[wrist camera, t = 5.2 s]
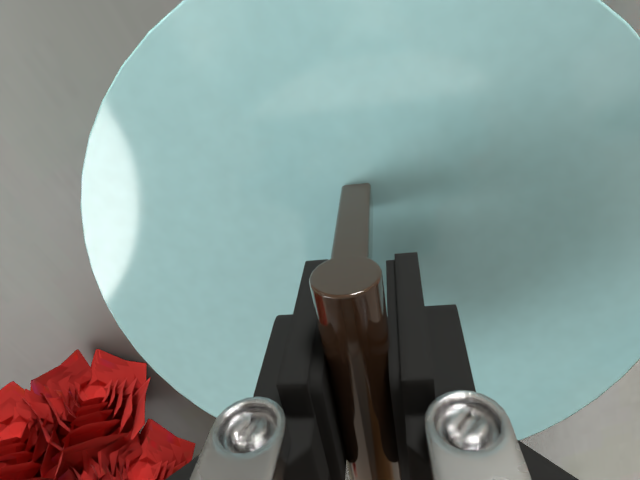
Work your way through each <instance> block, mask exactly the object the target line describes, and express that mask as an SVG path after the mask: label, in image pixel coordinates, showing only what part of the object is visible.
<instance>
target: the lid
mask: <svg viewBox="0 0 640 480" xmlns="http://www.w3.org/2000/svg"><path fill="white" fill-rule="evenodd" d="M81 215H82V224H83V233H84V241H85V245H86V249H87V253H88V257H89V261H90V265H91V268H92V272H93V274H94V277H95V279H96V282H97V284H98V287H99V289H100V292H101V294H102V297H103V299H104V301H105V303H106V305H107V306H108V308H109V310H110V312H111V314H112V315H113V317H114V319H115V321H116V323H117V324H118V326H119V328H120V329H121V330H122V332H123V333H124V334H125V336H126V337H127V339H128V340H129V341H130V343H131V344H132V346H133V347H134V348H135V350H136V351H137V352H138V353H139V354H140V355H141V356H142V358H143V359H144V360H145V361H146V362H147V363H148V364H149V365H150V366H151V367H152V369H153V370H154V371H155V372H156V373H157V374H158V375H160V376H161V377H162V378H163V379H164V380H165V381H166V382H167V383H168V384H170V385H171V386H172V387H173V388H174V389H175V390H176V391H177V392H179V393H180V394H181V395H183V396H184V397H186V398H187V399H188V400H190V401H191V402H192V403H194V404H195V405H196V406H198V407H199V408H201V409H202V410H204V411H206V412H207V413H209V414H211V415H212V416H214V417H216V418H217V417H218V416H219V415H220V414H221V413H222V412H223V411H224V410H225V409H226V408H227V407H228V406H230V405H232V404H233V403H235V402H236V401H239V400H242V399H245V398H249V397H253V395H254V391H255V388H256V384H257V381H258V377H259V374H260V370H261V367H262V363H263V359H264V356H265V352H266V349H267V345H268V342H269V338H270V335H271V331H272V328H273V324H274V321H275V318H276V317H277V316H278V315H288V314H293V312H294V307H295V303H296V299H297V295H298V290H299V286H300V282H301V278H302V274H303V269H304V265H305V262H306V261H311V260H324V259H328V260H327V261H325V262H323V263H321V264H320V265H318V266H317V267H316V268H315V269H314V270H313V272H312V273H311V275H310V279H309V285H310V290H311V295H312V300H313V304H314V309H315V314H316V319H317V323H318V328H319V333H320V338H321V342H322V347H323V352H324V355H325V360H326V365H327V370H328V375H329V379H330V384H331V389H332V394H333V398H334V403H335V408H336V413H337V418H338V422H339V427H340V432H341V437H342V441H343V446H344V451H345V456H346V462H347V466H348V471H349V476H350V480H401V473H400V465H399V457H398V449H397V441H396V433H395V425H394V417H393V409H392V401H391V392H390V382H389V360H388V350H389V348H390V336H389V328H388V319H387V281H386V260H395V254H398V253H411V252H417V254H418V261H419V269H420V276H421V284H422V291H423V299H424V306H435V305H451V304H456V306H457V309H458V314H459V318H460V322H461V327H462V331H463V336H464V340H465V345H466V349H467V354H468V358H469V363H470V367H471V372H472V376H473V380H474V385H475V389H476V392H477V393H481V394H484V395H486V396H488V397H489V398H491V399H493V400H495V401H496V402H497V403H498V404H499V405H500V406H501V407H502V408H503V409H504V410H505V412H506V414H507V415H508V417H509V419H510V421H511V424H512V427H513V430H514V432H515V435H516V438H517V440H519V441H520V440H522V439H525V438H527V437H529V436H532V435H534V434H537V433H539V432H541V431H544V430H545V429H547V428H549V427H551V426H553V425H555V424H557V423H559V422H560V421H562V420H564V419H566V418H568V417H570V416H571V415H573V414H574V413H576V412H577V411H579V410H580V409H582V408H583V407H585V406H586V405H588V404H589V403H591V402H592V401H594V400H595V399H597V398H598V397H599V396H601V395H602V394H603V393H604V392H605V391H606V390H608V389H609V388H610V387H611V386H612V385H614V384H615V383H616V382H617V381H618V380H620V379H621V378H622V377H623V376H624V375H625V374H626V373H627V372H628V371H629V370H630V369H631V368H632V367H633V365H634V364H635V363H636V362H637V361H638V360H639V359H640V36H639V35H638V34H637V33H636V31H635V30H634V29H633V28H632V27H631V26H630V24H629V23H628V22H627V21H626V20H624V19H623V18H622V17H621V16H620V15H618V14H617V13H616V12H615V11H614V10H612V9H611V8H610V7H609V6H607V5H606V4H605V3H604V2H603V1H601V0H183V1H182V2H181V3H179V4H178V5H177V6H176V7H175V8H174V9H173V10H172V11H171V12H170V13H168V14H167V15H166V16H165V17H164V18H163V19H162V20H161V21H160V22H159V23H157V24H156V25H155V26H154V27H153V28H152V29H151V30H150V31H149V32H148V33H147V34H146V36H145V37H144V38H143V39H142V41H141V42H140V43H139V44H138V46H137V47H136V48H135V49H134V51H133V52H132V53H131V54H130V56H129V57H128V58H127V60H126V61H125V62H124V63H123V65H122V66H121V68H120V70H119V71H118V73H117V75H116V77H115V79H114V80H113V82H112V84H111V86H110V88H109V89H108V91H107V93H106V95H105V96H104V98H103V100H102V103H101V105H100V108H99V111H98V113H97V116H96V119H95V122H94V124H93V127H92V130H91V133H90V135H89V139H88V145H87V150H86V155H85V160H84V165H83V170H82V185H81Z"/></svg>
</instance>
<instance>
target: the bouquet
mask: <svg viewBox="0 0 640 480" xmlns="http://www.w3.org/2000/svg"><path fill="white" fill-rule="evenodd" d="M150 378H151V377H150ZM150 378H149V379H148V380H147V381H146V363H140V362H133V361H126V360H123V359H121V358H119V357H116V356H114V355H111V354H109V353H107V352H104V351H102V350H99V349H96V351H95V354H94V357H93V361H92V364H91V367H90V366H89V365H88V363H87V362H86V360H85V359H84V357H83V356H82V354H81V353H80V351H79V350H76V351H75V352H74V353H73V354H72V355H71V356H69V357H68V358H67V359H66V360H65V361H64V362H63V363H62V364H61V365H60V366H58V367H56V368H54V369H52V370H50V371H49V372H47V373H45V374H43V375H41V376H39V377H38V378H36V379H34V380H31V390H30V391H29V390H27V389H25V390H24V389H23V388H21V387H20V386H19V385H17V384H16V383H15V382H14V381H13V382H10V383H9V384H7V385H6V386H5V387H3V388H2V389H1V390H0V480H165V479H166V478H168V477H169V476H171V475H172V474H173V473H175V472H176V471H178V470H179V469H180V468H182V467H183V466H185V465H186V464H187V463H189V462H190V461H191V460H192V456H193V452H194V448H195V443H192V442H189V441H186V440H184V439H181V438H178V437H176V436H175V435H173V434H172V433H170V432H169V431H168V430H166V429H165V428H163V427H162V426H161V425H159V424H158V423H156V422H155V421H153V420H152V419H148V420H147V422H146V424H145V401H146V390H147V387H148V384H149V381H150ZM144 424H145V426H144V428H143V429H142V431H141V433H140V434H139V431H140V429H141V428H142V427H143V425H144Z"/></svg>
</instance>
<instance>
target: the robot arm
mask: <svg viewBox="0 0 640 480" xmlns="http://www.w3.org/2000/svg"><path fill="white" fill-rule="evenodd" d="M327 260H328V259H324V260H311V261H306V262H305V265H304V269H303V274H302V278H301V282H300V286H299V290H298V295H297V299H296V303H295V307H294V312H293V314H288V315H278V316H277V317H276V318H275V321H274V324H273V328H272V331H271V335H270V338H269V342H268V345H267V349H266V352H265V356H264V359H263V363H262V367H261V370H260V374H259V377H258V381H257V384H256V388H255V391H254V395H253V397H249V398H245V399H242V400H239V401H236V402H235V403H233V404H232V405H230V406H228V407H227V408H226V409H225V410H224V411H223V412H222V413H221V414H220V415H219V416H218V417H217V419H216V420H215V422H214V424H213V425H212V428H211V430H210V432H209V435H208V437H207V439H206V442H205V444H204V446H203V449H202V451H201V454H200V455H199V456H197V457H196V458H194V459H193V460H192V461H190V462H189V463H187V464H186V465H185V466H183V467H182V468H180V469H179V470H178V471H176V472H175V473H173V474H172V475H171V476H169V477H168V478H166V479H165V480H345V472H346V456H345V451H344V446H343V441H342V437H341V432H340V427H339V422H338V418H337V413H336V408H335V403H334V398H333V394H332V389H331V384H330V379H329V375H328V370H327V365H326V360H325V355H324V352H323V347H322V342H321V338H320V333H319V328H318V323H317V319H316V314H315V309H314V304H313V300H312V295H311V290H310V285H309V279H310V275H311V273H312V272H313V270H314V269H315V268H316V267H317V266H318V265H320V264H321V263H323V262H325V261H327ZM386 281H387V319H388V328H389V336H390V348H389V350H388V360H389V382H390V392H391V401H392V409H393V417H394V425H395V433H396V441H397V449H398V457H399V465H400V473H401V480H578V479H577V478H575V477H574V476H572V475H571V474H569V473H567V472H566V471H564V470H563V469H561V468H560V467H558V466H557V465H555V464H554V463H552V462H551V461H549V460H548V459H546V458H545V457H543V456H542V455H540V454H538V453H537V452H535V451H534V450H532V449H531V448H529V447H528V446H526V445H525V444H523V443H522V442H520V441H519V440H517V438H516V435H515V432H514V430H513V427H512V424H511V421H510V419H509V417H508V415H507V414H506V412H505V410H504V409H503V408H502V407H501V406H500V405H499V404H498V403H497V402H496V401H495V400H493V399H491V398H489V397H488V396H486V395H484V394H481V393H477V392H476V389H475V385H474V380H473V376H472V372H471V367H470V363H469V358H468V354H467V349H466V345H465V340H464V336H463V331H462V327H461V322H460V318H459V314H458V309H457V306H456V304H451V305H435V306H424V299H423V291H422V284H421V276H420V269H419V261H418V254H417V252H411V253H398V254H395V260H386Z"/></svg>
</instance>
